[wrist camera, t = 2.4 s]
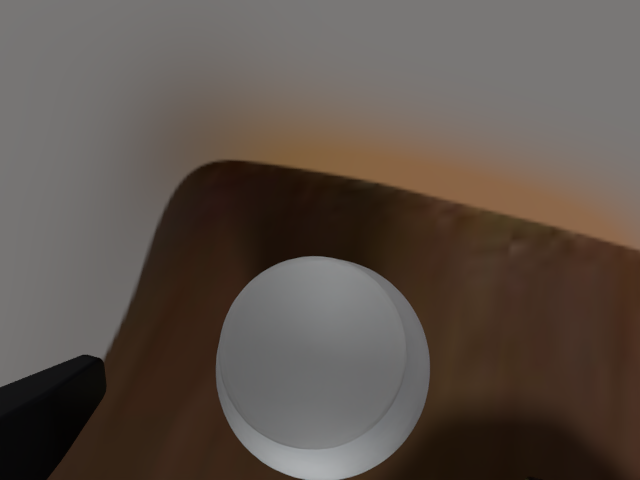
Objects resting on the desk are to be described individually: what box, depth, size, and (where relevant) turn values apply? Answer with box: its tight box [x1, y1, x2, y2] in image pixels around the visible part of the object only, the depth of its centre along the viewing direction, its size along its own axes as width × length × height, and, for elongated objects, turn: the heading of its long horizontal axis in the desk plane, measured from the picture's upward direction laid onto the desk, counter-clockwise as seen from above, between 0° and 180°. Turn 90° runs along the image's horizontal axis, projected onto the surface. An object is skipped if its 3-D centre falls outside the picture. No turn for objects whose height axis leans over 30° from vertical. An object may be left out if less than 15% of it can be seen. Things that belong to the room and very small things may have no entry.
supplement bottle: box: [216, 256, 430, 480], centre depth 14 cm, size 6×6×10 cm
